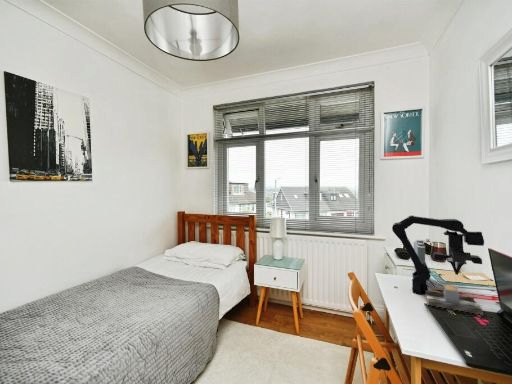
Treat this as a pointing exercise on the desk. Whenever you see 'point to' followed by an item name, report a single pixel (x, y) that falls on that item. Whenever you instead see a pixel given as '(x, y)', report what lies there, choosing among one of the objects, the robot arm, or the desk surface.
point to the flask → (419, 250)
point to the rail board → (464, 304)
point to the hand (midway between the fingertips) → (456, 274)
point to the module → (451, 294)
